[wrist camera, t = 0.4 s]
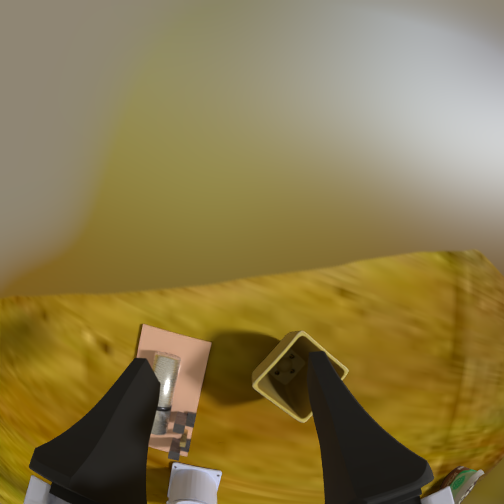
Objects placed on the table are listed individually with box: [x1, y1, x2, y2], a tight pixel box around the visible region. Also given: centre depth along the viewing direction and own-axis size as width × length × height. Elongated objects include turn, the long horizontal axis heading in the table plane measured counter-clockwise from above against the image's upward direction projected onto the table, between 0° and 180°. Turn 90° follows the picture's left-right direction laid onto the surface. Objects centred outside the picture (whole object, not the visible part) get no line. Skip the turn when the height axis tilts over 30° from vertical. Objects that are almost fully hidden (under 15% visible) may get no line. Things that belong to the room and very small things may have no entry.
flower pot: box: [252, 331, 348, 423], centre depth 33 cm, size 9×9×9 cm
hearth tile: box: [137, 324, 212, 456], centre depth 34 cm, size 20×10×1 cm, turn 167°
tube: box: [151, 351, 181, 435], centre depth 32 cm, size 12×4×4 cm, turn 167°
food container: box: [440, 466, 485, 504], centre depth 31 cm, size 12×6×10 cm, turn 148°
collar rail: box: [168, 411, 196, 461], centre depth 31 cm, size 7×10×4 cm
